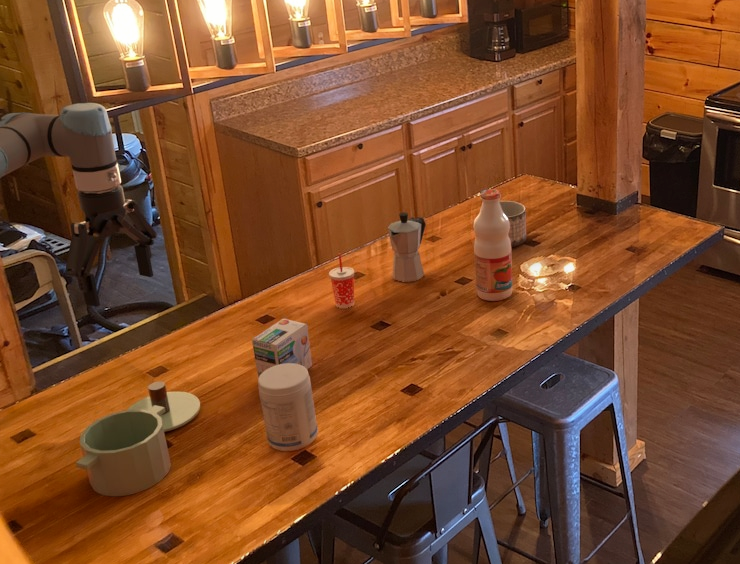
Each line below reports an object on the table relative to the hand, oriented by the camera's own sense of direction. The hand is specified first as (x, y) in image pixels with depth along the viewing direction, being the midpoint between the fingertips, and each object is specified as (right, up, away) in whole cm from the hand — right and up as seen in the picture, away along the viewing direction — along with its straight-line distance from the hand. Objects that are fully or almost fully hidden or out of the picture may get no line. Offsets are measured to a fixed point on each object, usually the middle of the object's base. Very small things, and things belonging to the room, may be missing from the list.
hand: (120, 289), depth 185 cm
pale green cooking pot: (+6, -34, -8) cm, 35 cm away
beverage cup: (+29, -7, +55) cm, 63 cm away
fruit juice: (+66, -4, +61) cm, 90 cm away
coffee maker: (+42, +1, +71) cm, 83 cm away
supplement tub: (+33, -30, +3) cm, 44 cm away
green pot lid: (+4, -26, +9) cm, 28 cm away
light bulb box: (+24, -20, +25) cm, 40 cm away
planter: (+66, +9, +91) cm, 113 cm away
